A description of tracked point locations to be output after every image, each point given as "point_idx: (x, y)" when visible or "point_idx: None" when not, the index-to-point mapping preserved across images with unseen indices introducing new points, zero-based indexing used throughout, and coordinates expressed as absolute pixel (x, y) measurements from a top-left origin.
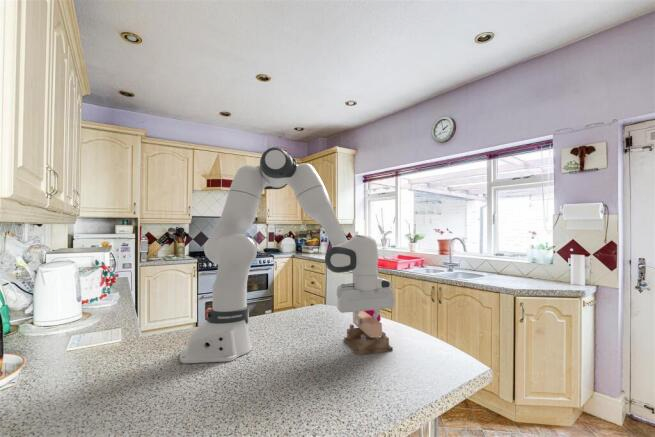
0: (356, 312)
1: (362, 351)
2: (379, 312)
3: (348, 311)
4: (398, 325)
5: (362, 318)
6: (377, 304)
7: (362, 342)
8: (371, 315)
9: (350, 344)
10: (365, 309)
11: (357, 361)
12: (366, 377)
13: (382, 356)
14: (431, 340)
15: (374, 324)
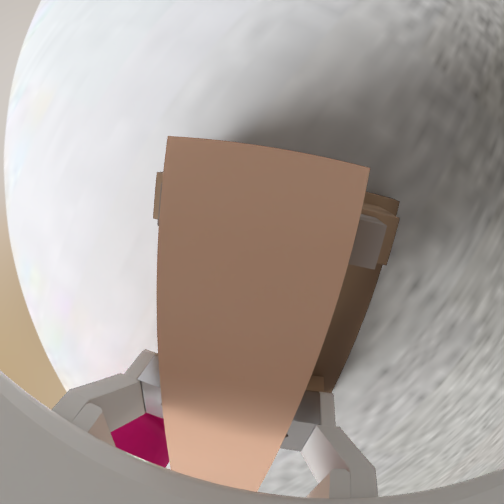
0: (358, 489)
1: (371, 194)
2: (71, 390)
3: (464, 486)
4: (59, 370)
5: (282, 423)
6: (32, 461)
7: (378, 212)
8: (128, 447)
9: (361, 322)
10: (240, 501)
11: (432, 134)
12: (450, 6)
13: (275, 112)
14: (12, 198)
15: (293, 152)
